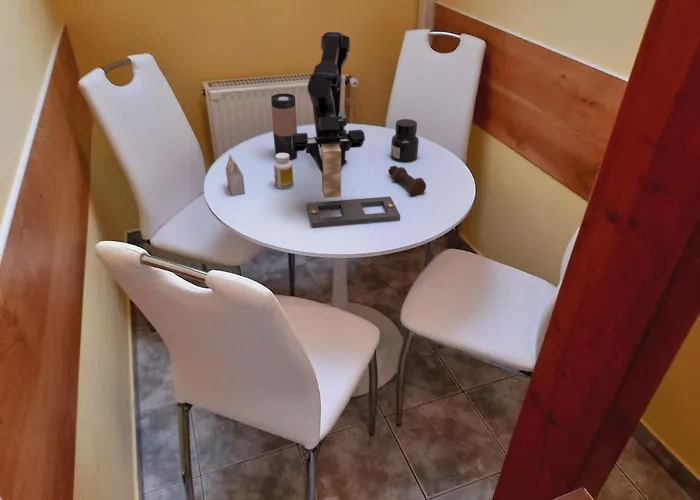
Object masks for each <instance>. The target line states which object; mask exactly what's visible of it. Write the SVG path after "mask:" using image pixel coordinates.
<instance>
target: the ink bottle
mask: <svg viewBox="0 0 700 500" xmlns="http://www.w3.org/2000/svg"><path fill="white" fill-rule="evenodd" d="M417 127H418V122H417V121H415V120H413V119H410V118H409V119H408V118H401V119H398V120H396V121H395V134H394V135H393V136H392V138H391V147H390V148H391V149H390V157H391V159H393V161H396V162H402V163H409V162H414V161H416V160H417V158H418V153H419V142H420V141H419V137H418V136H417V131H418V129H417Z"/></svg>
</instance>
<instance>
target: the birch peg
mask: <svg viewBox="0 0 700 500" xmlns="http://www.w3.org/2000/svg"><path fill="white" fill-rule="evenodd" d="M320 151H321V153H320V156H321V160H322V165H323V173H321V191H322V195H323V198H324V199H328V198H340V197H342V170H341V149H340V147H339V144H325V145H321V148H320Z"/></svg>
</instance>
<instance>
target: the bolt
mask: <svg viewBox="0 0 700 500" xmlns="http://www.w3.org/2000/svg"><path fill="white" fill-rule="evenodd" d="M387 173H388V174H389V175H390V176H391V178H392V180H393V181H394V182H395V183H397V184H399V183H401V184H403V186H405V187H407V191H408V193H409V194H410V196H412V197H419V196H422V195H423V194H424V192H425V191H426V188H427V184H426V182H425V180H424V178H422V177H417V178H414V177H413V176H411V174H410V175H409V174H408V172H407V170H406V168H405V167H404V166H400V167H399V166H396V165H391V166H389V168H388V171H387ZM421 194H422V195H421ZM418 195H419V196H418Z"/></svg>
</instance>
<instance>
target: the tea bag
mask: <svg viewBox="0 0 700 500" xmlns="http://www.w3.org/2000/svg"><path fill="white" fill-rule="evenodd" d="M228 155H229V157H228V161H227V162H226V166H225V173H226V174H225V175H226V181H227V187H228V189H229V191H230V194H231V196H232V197H237V196H241V195H246V191H245V189H246V188H245V181H244V175H243V172H242V171H241V169H240V168H239V165H238V163H237V162H236V161H235V160H234V158H233V156H232V154H228Z"/></svg>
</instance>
